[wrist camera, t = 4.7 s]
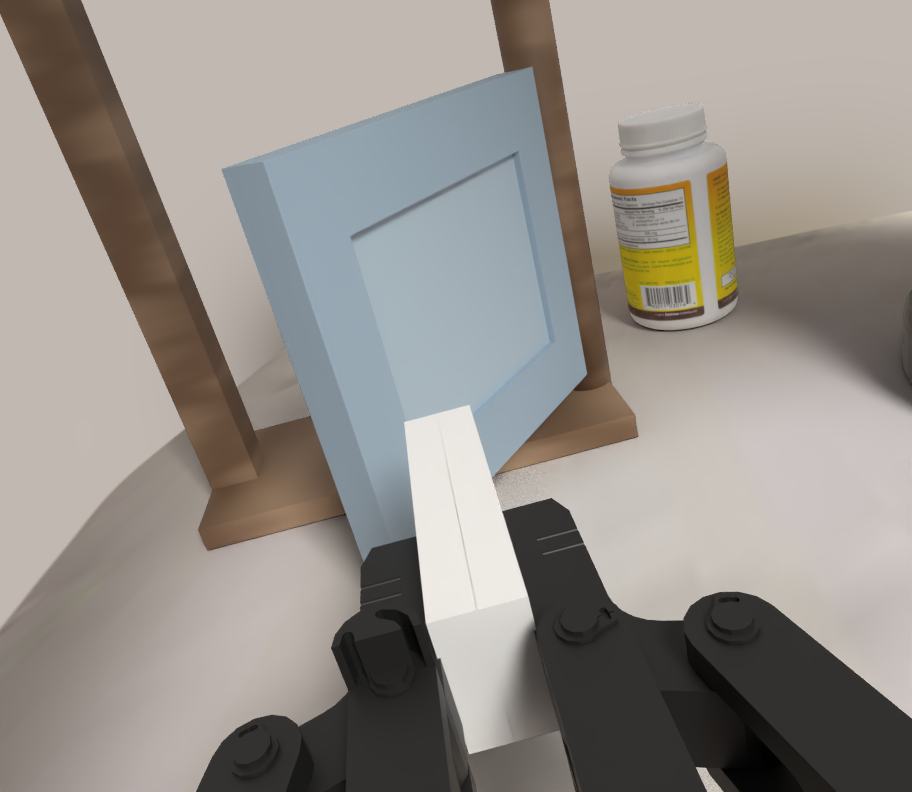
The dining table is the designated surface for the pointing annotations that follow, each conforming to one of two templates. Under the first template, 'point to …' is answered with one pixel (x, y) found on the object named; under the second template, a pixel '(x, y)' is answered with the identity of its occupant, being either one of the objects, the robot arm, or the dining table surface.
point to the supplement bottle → (674, 219)
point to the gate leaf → (417, 283)
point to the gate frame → (182, 311)
